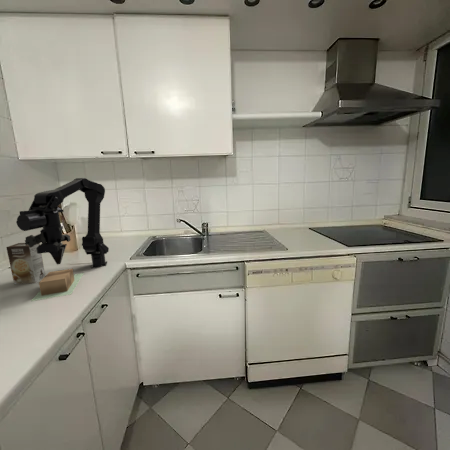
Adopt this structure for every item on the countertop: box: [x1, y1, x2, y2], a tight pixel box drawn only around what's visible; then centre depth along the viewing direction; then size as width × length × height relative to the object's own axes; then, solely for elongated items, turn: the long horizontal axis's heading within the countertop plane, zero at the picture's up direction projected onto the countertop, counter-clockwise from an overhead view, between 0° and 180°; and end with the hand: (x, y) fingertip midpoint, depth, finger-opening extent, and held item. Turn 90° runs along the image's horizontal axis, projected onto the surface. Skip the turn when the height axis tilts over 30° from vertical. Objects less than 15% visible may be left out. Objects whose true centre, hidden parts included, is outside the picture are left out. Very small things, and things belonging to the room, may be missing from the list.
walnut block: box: [38, 268, 75, 296], centre depth 91 cm, size 5×8×11 cm
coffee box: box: [5, 242, 46, 285], centre depth 98 cm, size 9×6×16 cm
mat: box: [30, 272, 85, 302], centre depth 93 cm, size 22×12×1 cm, turn 20°
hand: (58, 264), depth 93 cm, fingers closed
